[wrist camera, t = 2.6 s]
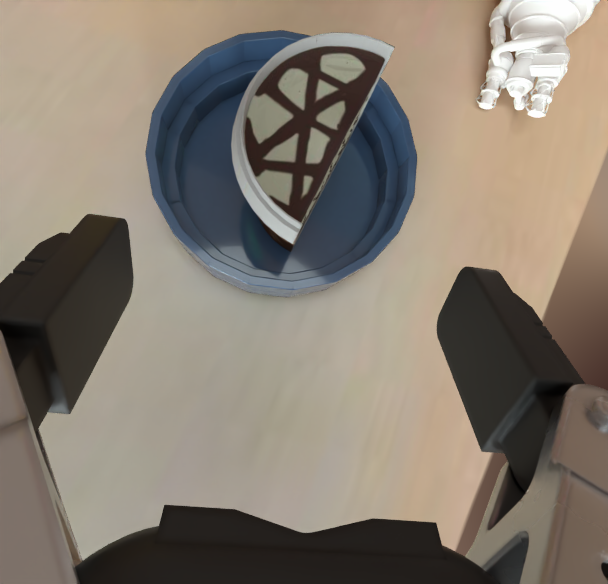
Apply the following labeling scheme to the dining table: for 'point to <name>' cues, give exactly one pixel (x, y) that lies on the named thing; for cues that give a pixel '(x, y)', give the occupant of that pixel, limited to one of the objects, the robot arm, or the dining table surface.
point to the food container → (301, 125)
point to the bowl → (229, 197)
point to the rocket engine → (531, 49)
